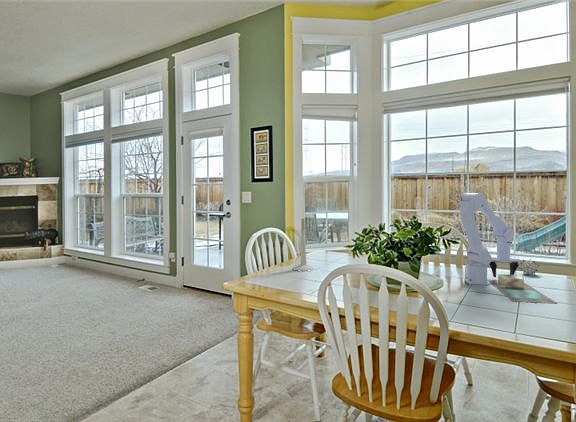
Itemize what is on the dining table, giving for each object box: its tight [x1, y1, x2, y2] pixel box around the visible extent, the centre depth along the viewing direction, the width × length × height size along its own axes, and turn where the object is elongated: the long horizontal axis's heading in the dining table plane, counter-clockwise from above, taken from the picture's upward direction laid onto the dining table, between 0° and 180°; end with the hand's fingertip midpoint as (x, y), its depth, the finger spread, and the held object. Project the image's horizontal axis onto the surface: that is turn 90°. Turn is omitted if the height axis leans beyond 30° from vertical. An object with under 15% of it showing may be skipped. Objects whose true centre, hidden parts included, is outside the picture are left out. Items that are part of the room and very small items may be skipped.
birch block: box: [497, 273, 525, 288], centre depth 170 cm, size 8×8×4 cm
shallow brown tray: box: [487, 278, 558, 304], centre depth 162 cm, size 16×34×1 cm, turn 168°
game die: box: [518, 258, 540, 276], centre depth 189 cm, size 9×8×10 cm
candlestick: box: [292, 218, 316, 272], centre depth 210 cm, size 13×13×30 cm
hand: (502, 277), depth 179 cm, fingers open, 7 cm apart
